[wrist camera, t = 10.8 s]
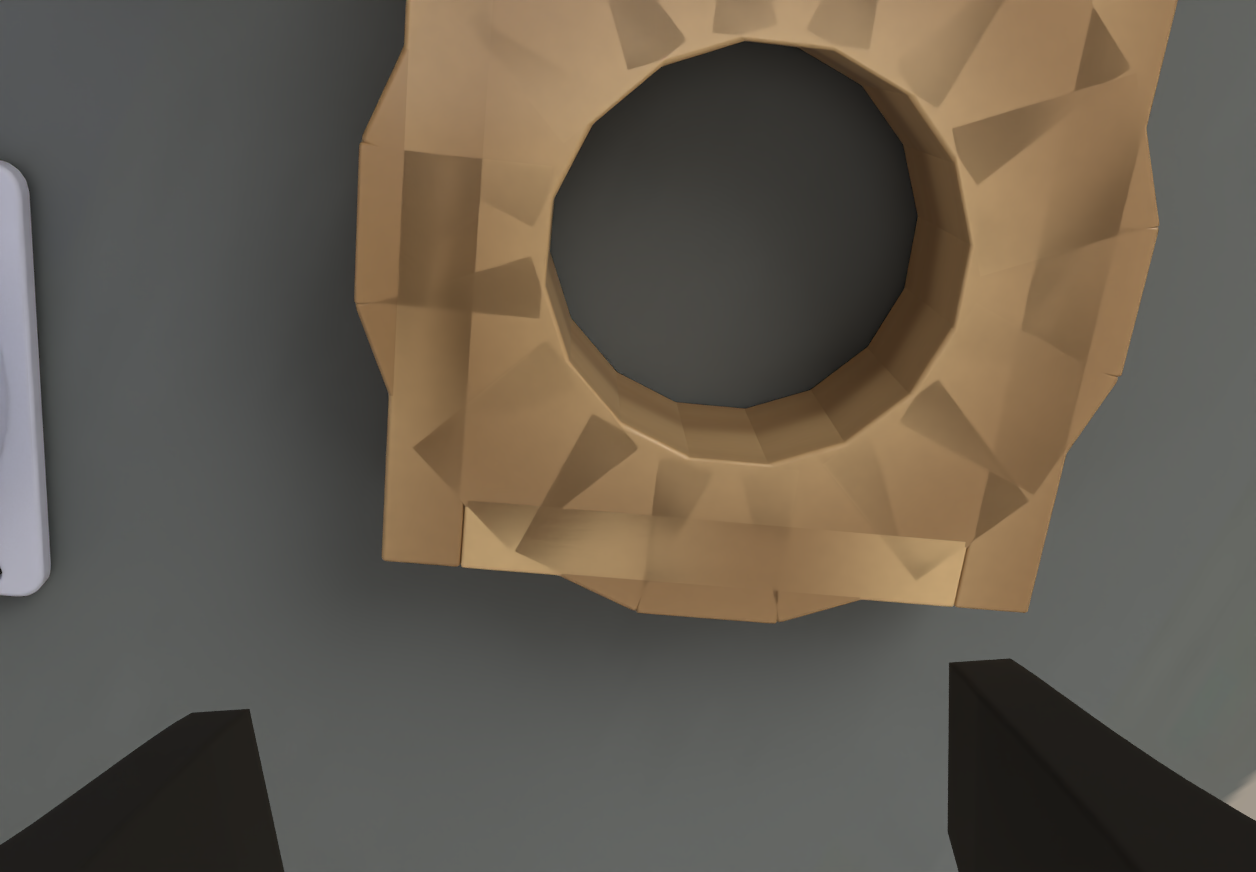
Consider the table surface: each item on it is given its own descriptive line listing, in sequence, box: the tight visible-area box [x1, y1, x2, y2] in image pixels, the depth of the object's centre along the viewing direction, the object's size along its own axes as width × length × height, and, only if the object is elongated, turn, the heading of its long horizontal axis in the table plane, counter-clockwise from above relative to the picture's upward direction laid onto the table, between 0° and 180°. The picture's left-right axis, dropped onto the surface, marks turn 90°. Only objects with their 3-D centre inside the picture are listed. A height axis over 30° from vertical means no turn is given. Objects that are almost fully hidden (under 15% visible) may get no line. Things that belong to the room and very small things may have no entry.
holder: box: [354, 0, 1178, 624], centre depth 19 cm, size 12×12×3 cm
